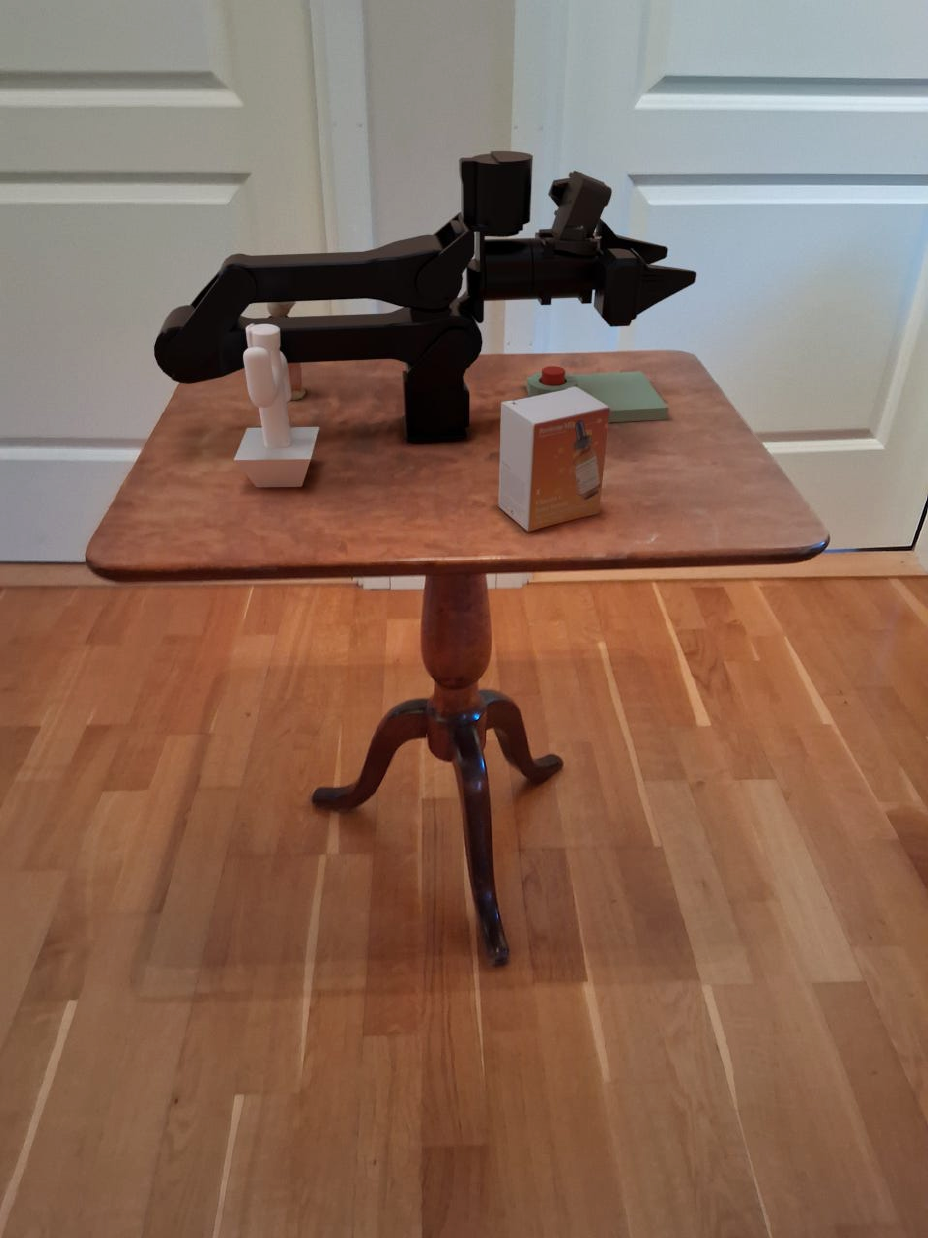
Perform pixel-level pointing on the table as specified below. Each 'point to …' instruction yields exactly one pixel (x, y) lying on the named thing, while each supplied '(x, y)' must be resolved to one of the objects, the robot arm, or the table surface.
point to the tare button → (553, 376)
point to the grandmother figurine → (294, 368)
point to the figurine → (272, 416)
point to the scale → (612, 393)
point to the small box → (552, 457)
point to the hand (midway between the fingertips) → (680, 264)
